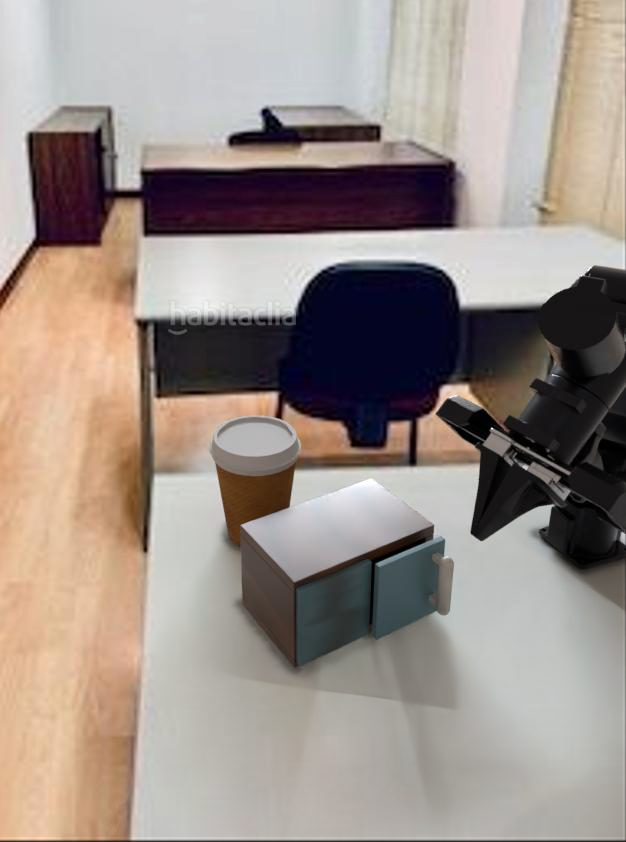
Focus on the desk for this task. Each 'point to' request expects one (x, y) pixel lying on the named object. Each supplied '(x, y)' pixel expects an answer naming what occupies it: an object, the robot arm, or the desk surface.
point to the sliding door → (411, 587)
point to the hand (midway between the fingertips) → (475, 537)
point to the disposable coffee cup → (254, 468)
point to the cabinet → (323, 566)
